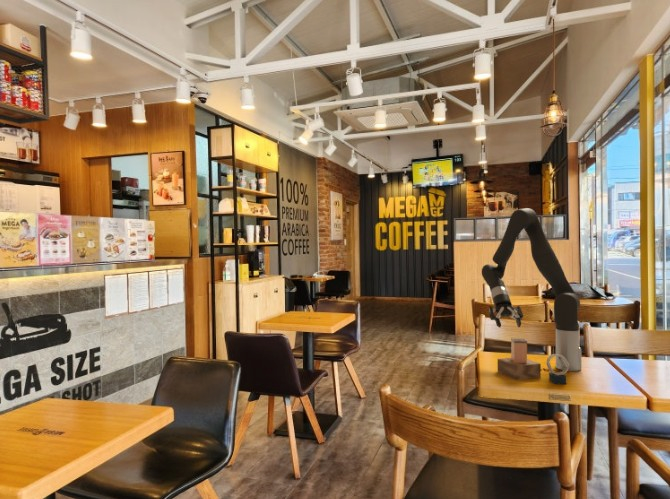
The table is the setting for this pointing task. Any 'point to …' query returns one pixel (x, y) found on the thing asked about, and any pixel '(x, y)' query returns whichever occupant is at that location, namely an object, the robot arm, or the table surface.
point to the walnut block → (519, 369)
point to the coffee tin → (518, 350)
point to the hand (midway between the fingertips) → (509, 326)
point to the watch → (558, 376)
